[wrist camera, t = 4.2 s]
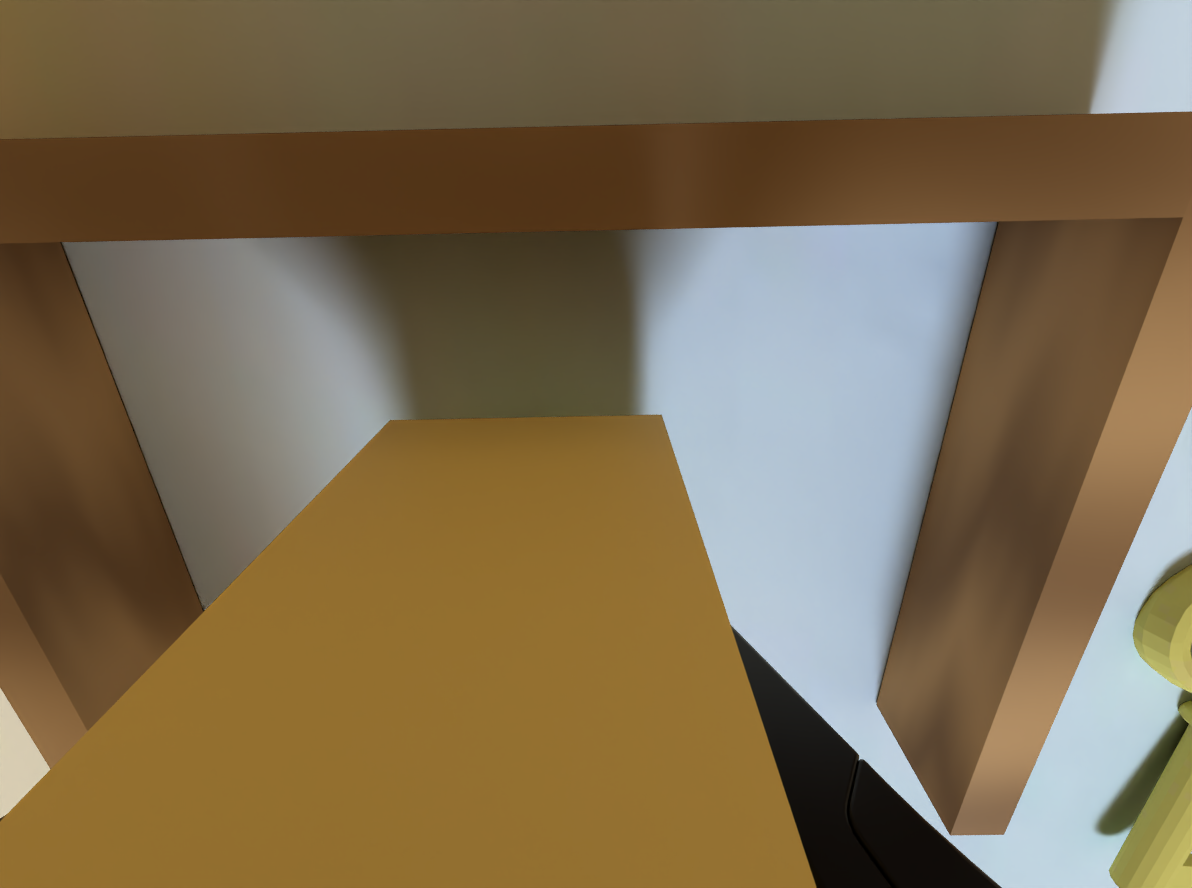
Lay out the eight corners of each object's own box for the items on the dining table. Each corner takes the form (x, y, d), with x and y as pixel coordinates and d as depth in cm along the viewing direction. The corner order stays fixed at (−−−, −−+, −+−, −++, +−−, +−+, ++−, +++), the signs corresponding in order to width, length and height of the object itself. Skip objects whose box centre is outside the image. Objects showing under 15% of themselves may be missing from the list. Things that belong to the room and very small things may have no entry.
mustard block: (655, 628, 12) (750, 1289, 5) (428, 632, 12) (167, 1294, 5) (661, 414, 10) (843, 972, 3) (390, 420, 10) (-159, 986, 3)
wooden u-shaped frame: (918, 703, 15) (1004, 834, 12) (201, 715, 16) (99, 847, 12) (1085, 140, 10) (1322, 108, 7) (-36, 165, 10) (-333, 147, 7)
